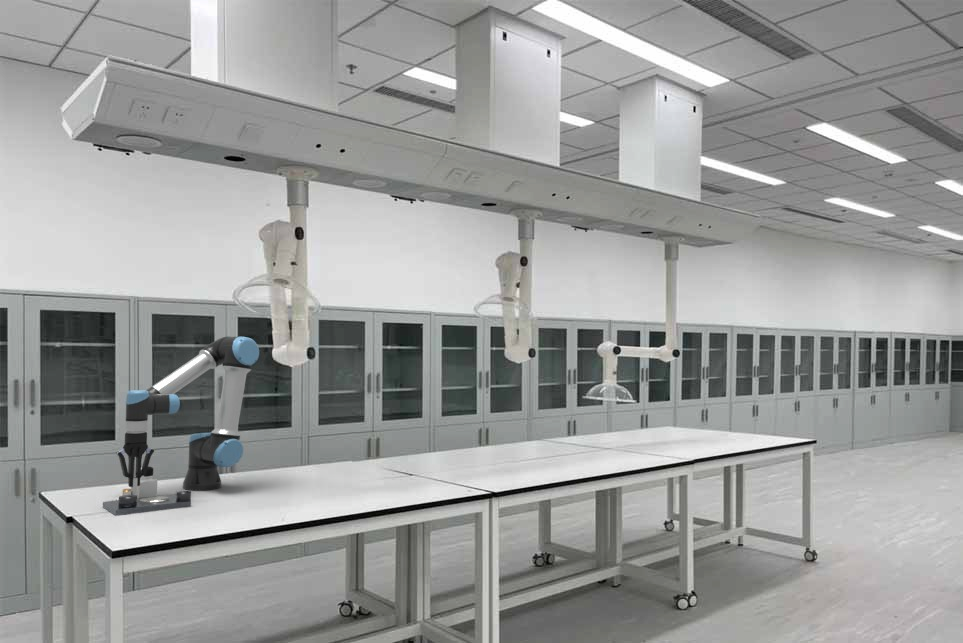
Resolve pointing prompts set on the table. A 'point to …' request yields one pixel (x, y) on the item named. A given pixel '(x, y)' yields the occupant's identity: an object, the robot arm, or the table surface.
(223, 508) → the table surface
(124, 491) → the ball lever handle
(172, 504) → the dark grey base plate
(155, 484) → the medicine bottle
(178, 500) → the knob
